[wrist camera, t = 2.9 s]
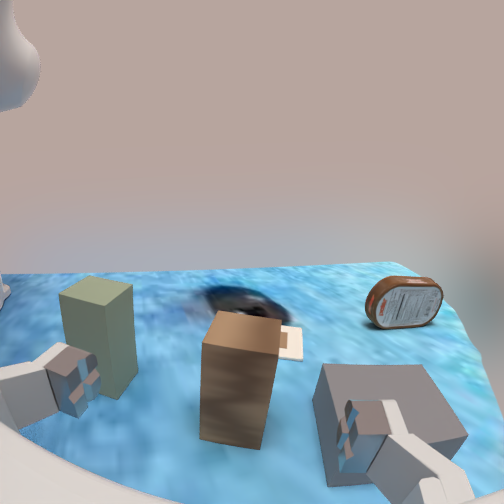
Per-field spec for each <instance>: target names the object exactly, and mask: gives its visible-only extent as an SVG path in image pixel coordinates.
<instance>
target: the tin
mask: <svg viewBox="0 0 504 504" xmlns="http://www.w3.org/2000/svg"><path fill="white" fill-rule="evenodd" d="M442 300H443V291H442V289H441V287H440V286H439V285H438V284H437V283H435V282H434V281H433V280H432V279H431V278H428V277H409V276H389V277H386V278H384V279H382V280H380V281H379V282H378V283H377V284H376V285H375V286H374V287H373V288H372V289H371V291H370V292H369V294H368V296H367V299H366V302H365V312H366V315H367V317H368V318H369V319H370V320H371V321H372V322H373V323H374V324H375V325H376V326H378V327H379V328H382V329H397V328H413V327H421V326H424V325H426V324H428V323H429V322H430V321H432V320H433V319H434V317H435V316H436V315H437V313H438V311H439V309H440V307H441V304H442Z"/></svg>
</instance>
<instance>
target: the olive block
mask: <svg viewBox="0 0 504 504" xmlns="http://www.w3.org/2000/svg"><path fill="white" fill-rule="evenodd" d="M59 301H60V309H61V315H62V322H63V328H64V333H65V339H66V344H67V345H70V346H73V347H76V348H78V349H81V350H84V351H87V352H89V353H92V354H94V355H95V356H96V358H97V362H98V365H97V367H96V368H95V369H96V370H97V372H98V373H99V374H100V378H101V388H100V391H99V394H102V395H105V396H107V397H110V398H113V399H116V400H118V399H119V397H120V396H121V395H122V393H123V392H124V390H125V389H126V388H127V386H128V385H129V384H130V382H131V381H132V379H133V378H134V377H135V375H136V374H137V373H138V365H137V355H136V343H135V329H134V311H133V284H128V283H123V282H118V281H113V280H108V279H103V278H99V277H94V276H87V277H86V278H84V279H82V280H81V281H79V282H77V283H75V284H74V285H72V286H70V287H69V288H67V289H65V290H64V291H62V292H60V293H59Z"/></svg>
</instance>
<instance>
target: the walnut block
mask: <svg viewBox="0 0 504 504" xmlns="http://www.w3.org/2000/svg"><path fill="white" fill-rule="evenodd" d="M281 321H282V320H277V319H270V318H263V317H256V316H250V315H243V314H237V313H230V312H224V311H218V312H217V314H216V316H215V318H214V320H213V322H212V324H211V326H210V328H209V330H208V332H207V334H206V336H205V338H204V339H203V341H202V355H201V387H200V439H201V440H205V441H210V442H215V443H220V444H226V445H231V446H237V447H243V448H250V449H257V450H260V446H261V441H262V437H263V432H264V428H265V423H266V418H267V413H268V408H269V403H270V398H271V393H272V388H273V383H274V378H275V373H276V367H277V362H278V357H279V347H280V335H281Z"/></svg>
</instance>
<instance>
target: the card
mask: <svg viewBox="0 0 504 504" xmlns="http://www.w3.org/2000/svg"><path fill="white" fill-rule="evenodd" d="M278 359H286V360H294V361H303V343H302V328H297V327H289V326H281V335H280V347H279V357H278Z"/></svg>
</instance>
